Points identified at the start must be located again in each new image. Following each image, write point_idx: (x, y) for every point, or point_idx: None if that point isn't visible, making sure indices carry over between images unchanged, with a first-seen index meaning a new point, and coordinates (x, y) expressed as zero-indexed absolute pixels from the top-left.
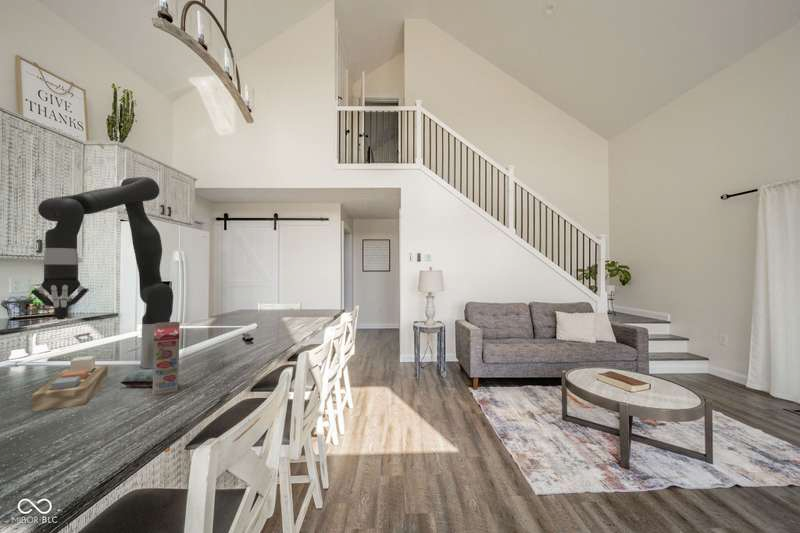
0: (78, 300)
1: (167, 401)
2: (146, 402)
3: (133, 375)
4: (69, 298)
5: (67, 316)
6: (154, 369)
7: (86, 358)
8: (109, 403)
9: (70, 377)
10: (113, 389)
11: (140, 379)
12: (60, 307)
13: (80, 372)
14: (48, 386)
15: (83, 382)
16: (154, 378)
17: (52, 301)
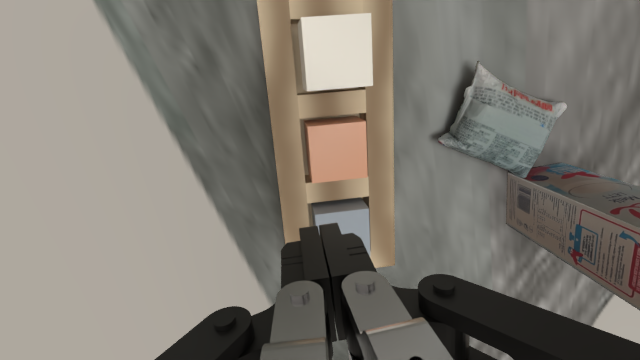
0: (500, 307)
1: (532, 276)
2: (495, 269)
3: (482, 150)
4: (420, 329)
5: (354, 236)
6: (559, 256)
7: (352, 63)
8: (427, 251)
9: (345, 214)
10: (416, 140)
11: (494, 164)
12: (331, 322)
13: (354, 159)
14: (296, 219)
15: (373, 209)
16: (539, 242)
17: (240, 341)
